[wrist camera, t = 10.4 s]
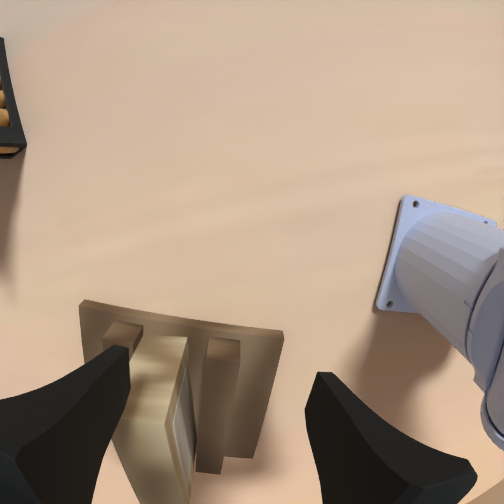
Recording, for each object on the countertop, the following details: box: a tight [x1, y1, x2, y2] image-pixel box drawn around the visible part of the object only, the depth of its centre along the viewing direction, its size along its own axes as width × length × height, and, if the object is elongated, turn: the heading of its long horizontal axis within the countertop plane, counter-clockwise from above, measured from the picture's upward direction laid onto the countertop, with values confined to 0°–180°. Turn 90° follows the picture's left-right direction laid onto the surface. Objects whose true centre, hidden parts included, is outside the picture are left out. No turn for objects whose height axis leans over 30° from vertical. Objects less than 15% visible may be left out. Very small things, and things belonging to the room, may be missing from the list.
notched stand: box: [79, 300, 284, 474], centre depth 21 cm, size 14×13×4 cm
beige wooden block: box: [111, 334, 197, 504], centre depth 17 cm, size 3×10×8 cm, turn 178°
